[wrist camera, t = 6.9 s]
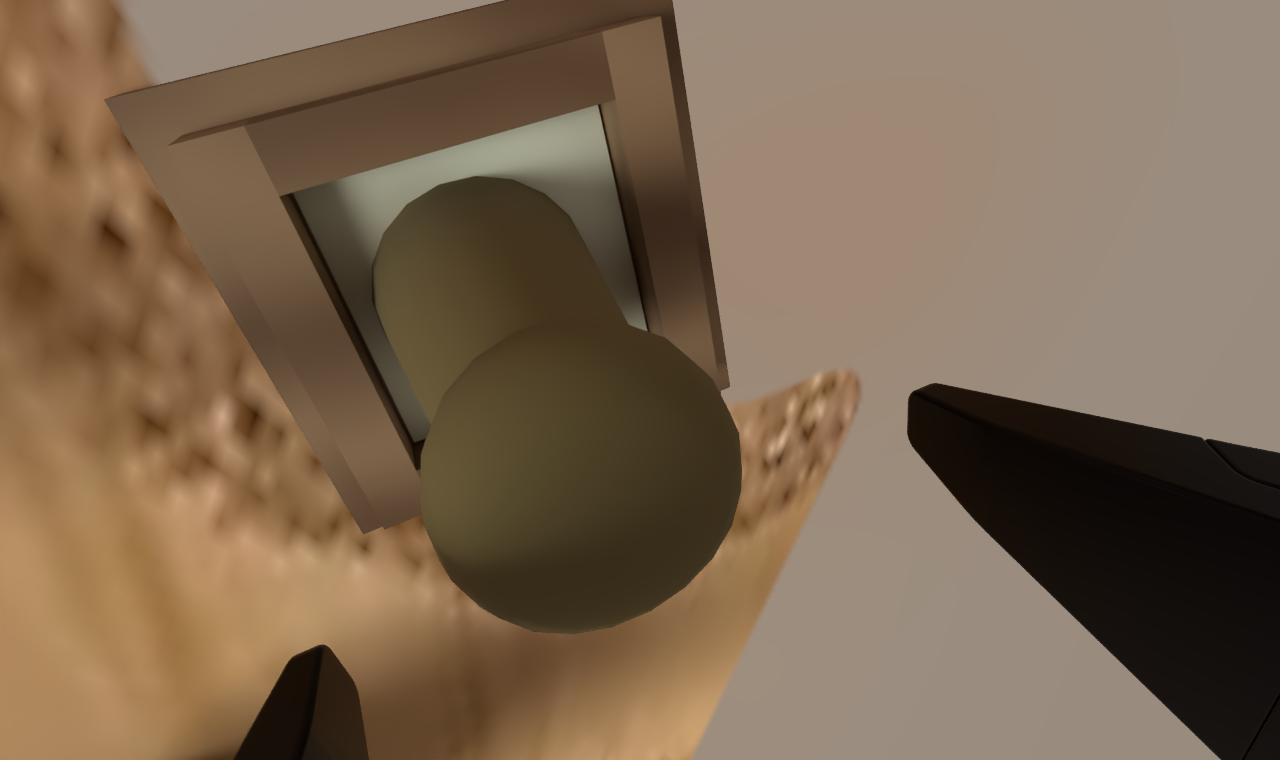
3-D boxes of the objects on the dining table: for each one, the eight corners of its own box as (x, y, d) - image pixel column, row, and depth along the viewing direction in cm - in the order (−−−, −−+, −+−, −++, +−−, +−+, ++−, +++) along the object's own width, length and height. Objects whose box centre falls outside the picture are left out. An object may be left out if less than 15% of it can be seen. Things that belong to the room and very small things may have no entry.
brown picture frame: (717, 374, 24) (751, 407, 22) (362, 514, 22) (364, 566, 20) (651, -36, 17) (692, -43, 15) (117, 94, 15) (81, 108, 13)
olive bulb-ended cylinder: (479, 420, 20) (585, 742, 11) (317, 282, 17) (284, 588, 8) (629, 290, 20) (858, 512, 11) (496, 124, 17) (672, 253, 8)
